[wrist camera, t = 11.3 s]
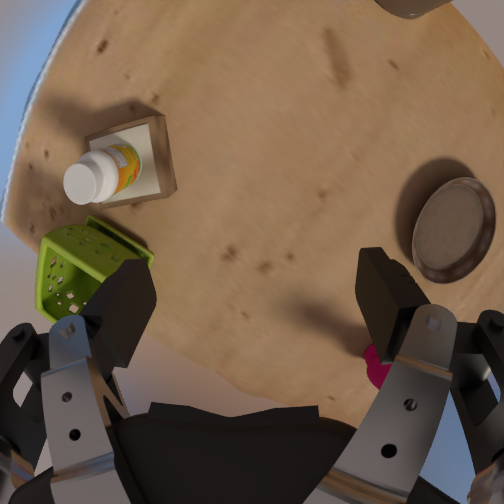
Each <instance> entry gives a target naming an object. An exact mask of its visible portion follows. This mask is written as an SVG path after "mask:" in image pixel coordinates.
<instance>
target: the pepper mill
mask: <svg viewBox="0 0 504 504" xmlns="http://www.w3.org/2000/svg"><path fill="white" fill-rule="evenodd" d="M364 358H365V361H366V364H367V365H368V366H367V375H368V378H369V380H370V381H371V383H372V384H373V385H374V386H375V387H376V388H378V389H379V390H380V388H381V386H382V384H383V383H384V381H385V379H386V376H387V374H388V372H389V370H390V368H391V366H392V364H393V363H391V364H385V365H381V363H380V360H379V357H378V354H377V352H376V349H375V346H374V343H373V344H372V345H370V346H369V347H368V348H367V350H366V351H365V354H364Z"/></svg>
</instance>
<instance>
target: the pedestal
mask: <svg viewBox="0 0 504 504" xmlns="http://www.w3.org/2000/svg"><path fill="white" fill-rule="evenodd" d="M85 143H86V148H87V152H90V151H93V150H96V149H100V148H103V147H107V146H110V145H114V144H119V143H125V144H129V145H131V146H133V147H134V148H135V149H136V150H137V151H138V153H139V155H140V157H141V161H142V169H141V173H140V175H139V177H138V179H137V180H136V181H135V182H134V183H133V184H131V185H130V186H128V187H126V188H125V189H123V190H121V191H120V192H118V193H116V194H115V195H113V196H112V197H110V198H108V199H107V200H105V201H102V202H99V206H100V210H102V209H107V208H112V207H117V206H123V205H128V204H134V203H139V202H145V201H151V200H157V199H163V198H168V197H169V196H171V195H172V194H173V193H174V192H175V191H176V190H177V184H176V179H175V174H174V168H173V163H172V157H171V151H170V145H169V139H168V133H167V127H166V120H165V116H150V117H146V118H143V119H139V120H135V121H132V122H128V123H125V124H122V125H118V126H115V127H112V128H109V129H106V130H103V131H100V132H97V133H94V134H91V135H88V136H86V137H85Z"/></svg>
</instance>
